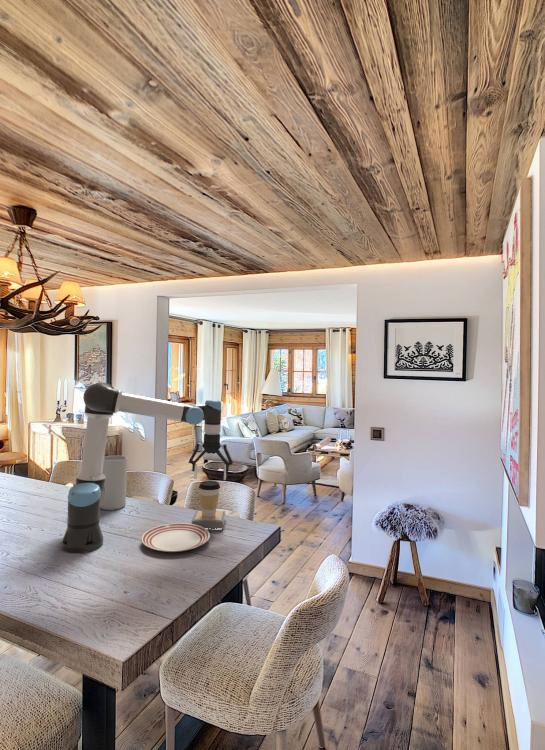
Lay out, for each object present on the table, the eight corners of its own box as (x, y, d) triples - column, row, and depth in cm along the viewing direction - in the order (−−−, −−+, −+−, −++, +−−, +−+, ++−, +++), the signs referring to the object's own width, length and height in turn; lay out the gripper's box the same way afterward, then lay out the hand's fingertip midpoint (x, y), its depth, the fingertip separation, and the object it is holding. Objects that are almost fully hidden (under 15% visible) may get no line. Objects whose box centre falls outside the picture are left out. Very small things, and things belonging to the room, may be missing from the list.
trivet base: (222, 530, 186) (223, 521, 186) (191, 529, 185) (191, 520, 185) (225, 519, 200) (225, 510, 200) (196, 518, 199) (196, 510, 199)
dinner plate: (211, 555, 161) (212, 546, 161) (138, 559, 155) (138, 550, 155) (207, 529, 187) (207, 521, 187) (144, 531, 181) (144, 524, 181)
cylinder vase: (109, 512, 204) (111, 461, 204) (94, 507, 211) (95, 458, 211) (130, 505, 215) (132, 457, 215) (114, 501, 221) (116, 454, 221)
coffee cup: (220, 512, 197) (221, 480, 197) (218, 519, 188) (219, 486, 188) (199, 511, 197) (200, 480, 197) (196, 518, 187) (197, 485, 187)
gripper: (239, 433, 197) (237, 477, 196) (186, 431, 196) (184, 475, 196) (238, 435, 189) (236, 481, 189) (183, 433, 188) (181, 479, 188)
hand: (210, 479), depth 192 cm, fingers open, 13 cm apart
